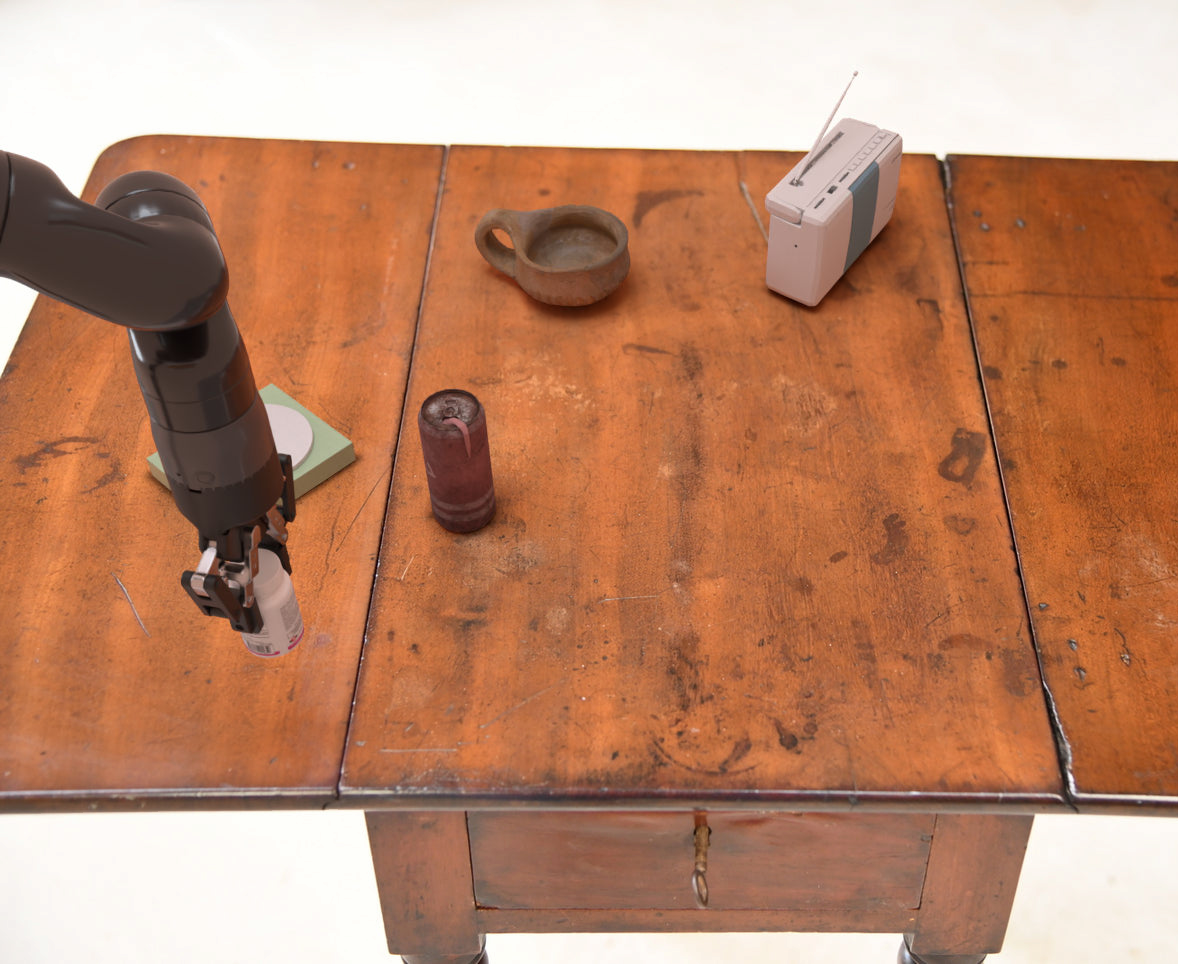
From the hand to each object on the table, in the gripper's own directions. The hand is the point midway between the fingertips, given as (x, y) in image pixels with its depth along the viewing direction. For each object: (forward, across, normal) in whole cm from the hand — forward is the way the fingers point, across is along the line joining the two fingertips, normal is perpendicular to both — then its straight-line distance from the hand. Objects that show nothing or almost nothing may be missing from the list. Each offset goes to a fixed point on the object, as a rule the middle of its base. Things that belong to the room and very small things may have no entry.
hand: (263, 601), depth 108 cm
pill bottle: (+5, 0, 0) cm, 5 cm away
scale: (+16, -27, -16) cm, 35 cm away
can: (+16, -26, +6) cm, 31 cm away
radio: (+15, -75, +36) cm, 84 cm away
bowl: (+16, -62, +5) cm, 64 cm away
